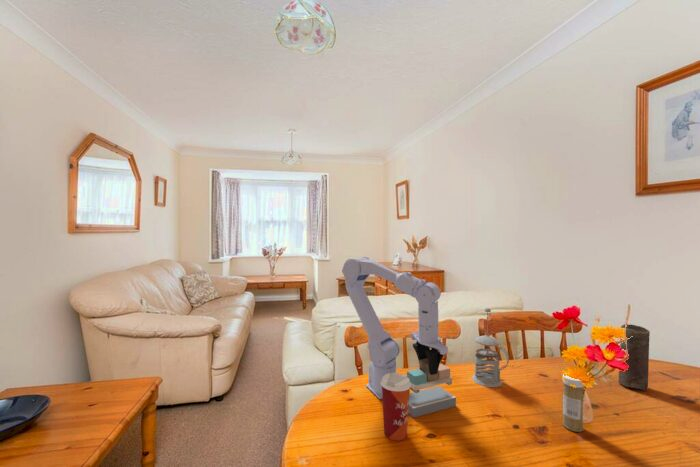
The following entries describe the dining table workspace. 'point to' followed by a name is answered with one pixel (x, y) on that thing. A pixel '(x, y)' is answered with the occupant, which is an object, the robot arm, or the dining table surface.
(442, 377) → the block
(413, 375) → the block
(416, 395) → the dock
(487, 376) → the french press
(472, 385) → the dining table surface
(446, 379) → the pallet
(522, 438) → the dining table surface
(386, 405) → the paper cup
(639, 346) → the candle
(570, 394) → the sprinkles bottle
